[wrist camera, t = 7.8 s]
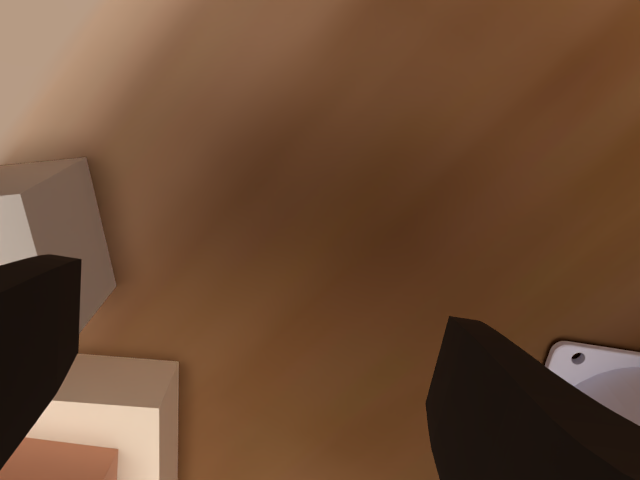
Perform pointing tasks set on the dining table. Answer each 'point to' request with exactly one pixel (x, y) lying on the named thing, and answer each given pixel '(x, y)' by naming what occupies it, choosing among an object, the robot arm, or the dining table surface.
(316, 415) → the dining table surface
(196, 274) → the dining table surface
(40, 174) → the grey cube
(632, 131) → the dining table surface
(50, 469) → the terracotta cube
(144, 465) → the cream block
